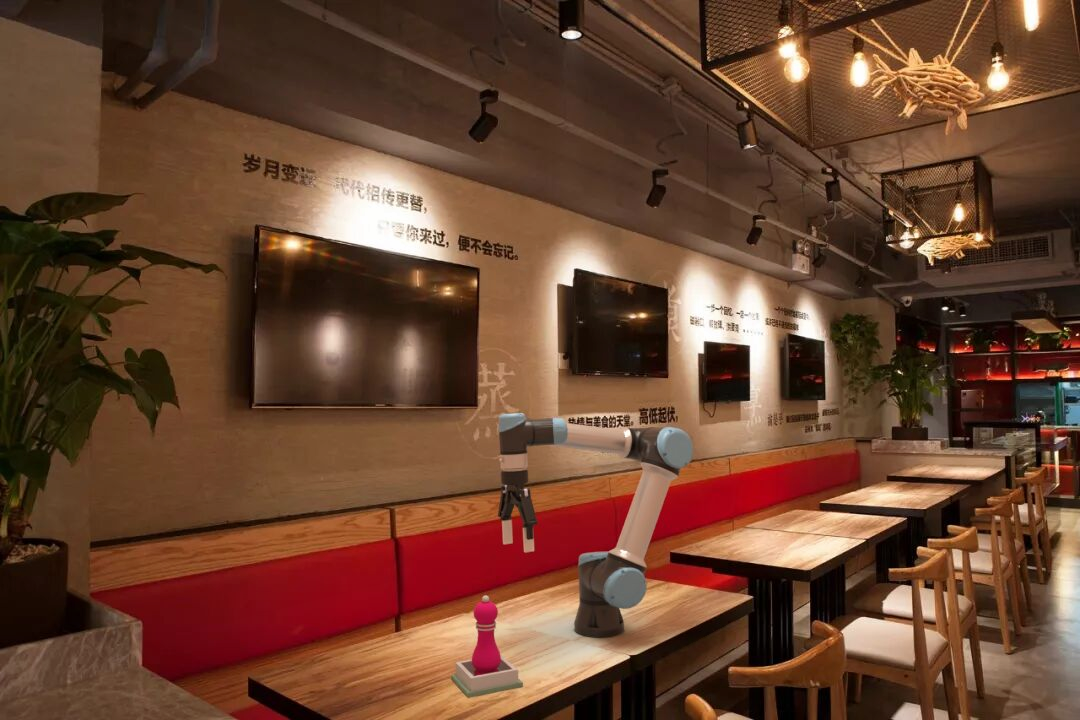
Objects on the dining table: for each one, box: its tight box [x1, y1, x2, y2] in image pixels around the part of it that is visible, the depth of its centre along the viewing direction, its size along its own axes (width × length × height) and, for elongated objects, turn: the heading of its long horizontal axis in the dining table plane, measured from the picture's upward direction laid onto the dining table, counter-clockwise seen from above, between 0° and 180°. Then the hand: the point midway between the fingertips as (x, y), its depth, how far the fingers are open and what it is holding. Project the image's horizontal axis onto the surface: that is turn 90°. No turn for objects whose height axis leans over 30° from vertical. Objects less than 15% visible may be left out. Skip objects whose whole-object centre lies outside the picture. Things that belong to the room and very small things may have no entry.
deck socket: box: [450, 655, 524, 698], centre depth 172 cm, size 14×13×4 cm
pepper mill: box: [471, 595, 502, 676], centre depth 173 cm, size 7×7×20 cm
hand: (518, 547), depth 191 cm, fingers open, 13 cm apart
